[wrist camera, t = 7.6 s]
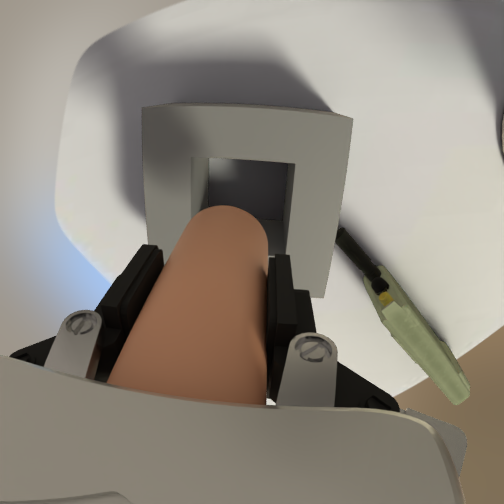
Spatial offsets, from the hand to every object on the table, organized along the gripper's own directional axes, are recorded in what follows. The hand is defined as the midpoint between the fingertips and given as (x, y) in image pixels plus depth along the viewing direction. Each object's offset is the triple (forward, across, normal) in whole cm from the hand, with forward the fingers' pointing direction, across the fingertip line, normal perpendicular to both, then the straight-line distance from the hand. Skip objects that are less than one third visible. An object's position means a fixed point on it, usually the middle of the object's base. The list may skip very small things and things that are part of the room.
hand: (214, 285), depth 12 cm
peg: (+3, 0, 0) cm, 3 cm away
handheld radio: (+14, -17, +11) cm, 25 cm away
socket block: (+14, 0, 0) cm, 14 cm away
